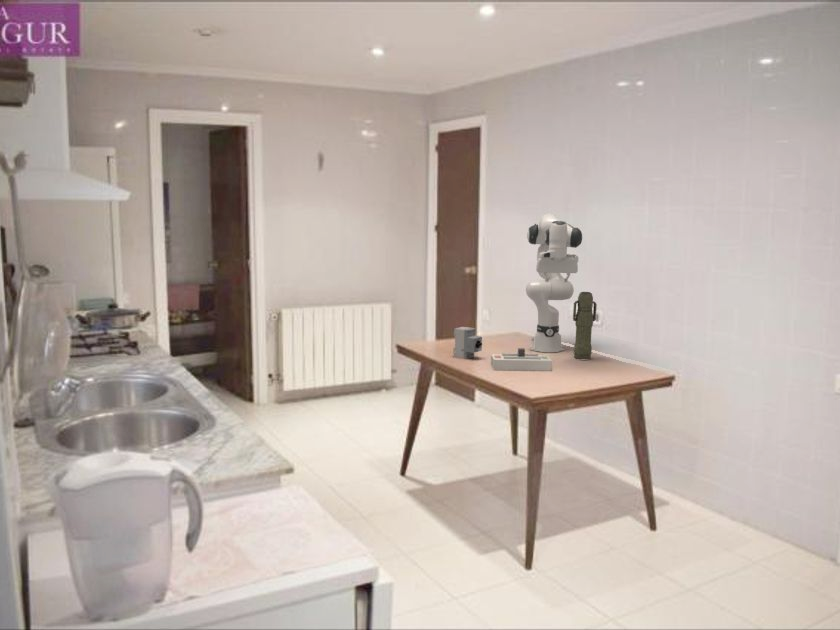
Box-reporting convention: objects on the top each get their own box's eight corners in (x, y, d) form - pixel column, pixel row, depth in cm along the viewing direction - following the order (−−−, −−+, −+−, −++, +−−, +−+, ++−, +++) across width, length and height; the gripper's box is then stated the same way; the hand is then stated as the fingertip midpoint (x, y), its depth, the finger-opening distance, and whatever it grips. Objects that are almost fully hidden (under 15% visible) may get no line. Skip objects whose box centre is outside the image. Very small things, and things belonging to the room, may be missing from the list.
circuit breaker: (476, 360, 369) (477, 331, 367) (453, 356, 378) (453, 328, 375) (484, 358, 375) (485, 329, 373) (461, 354, 383) (462, 326, 381)
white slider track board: (490, 364, 362) (491, 352, 361) (546, 364, 362) (547, 353, 361) (493, 369, 349) (494, 357, 348) (551, 370, 349) (552, 358, 348)
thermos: (596, 359, 376) (600, 293, 371) (575, 360, 373) (579, 293, 368) (588, 356, 385) (592, 291, 379) (568, 357, 382) (571, 291, 377)
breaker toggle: (517, 356, 356) (517, 348, 355) (523, 356, 356) (523, 348, 355) (518, 357, 353) (518, 349, 352) (524, 357, 353) (524, 349, 352)
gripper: (577, 254, 360) (575, 281, 362) (536, 253, 360) (535, 281, 362) (580, 254, 354) (578, 282, 356) (538, 254, 353) (537, 282, 355)
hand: (556, 282), depth 359 cm, fingers open, 8 cm apart
